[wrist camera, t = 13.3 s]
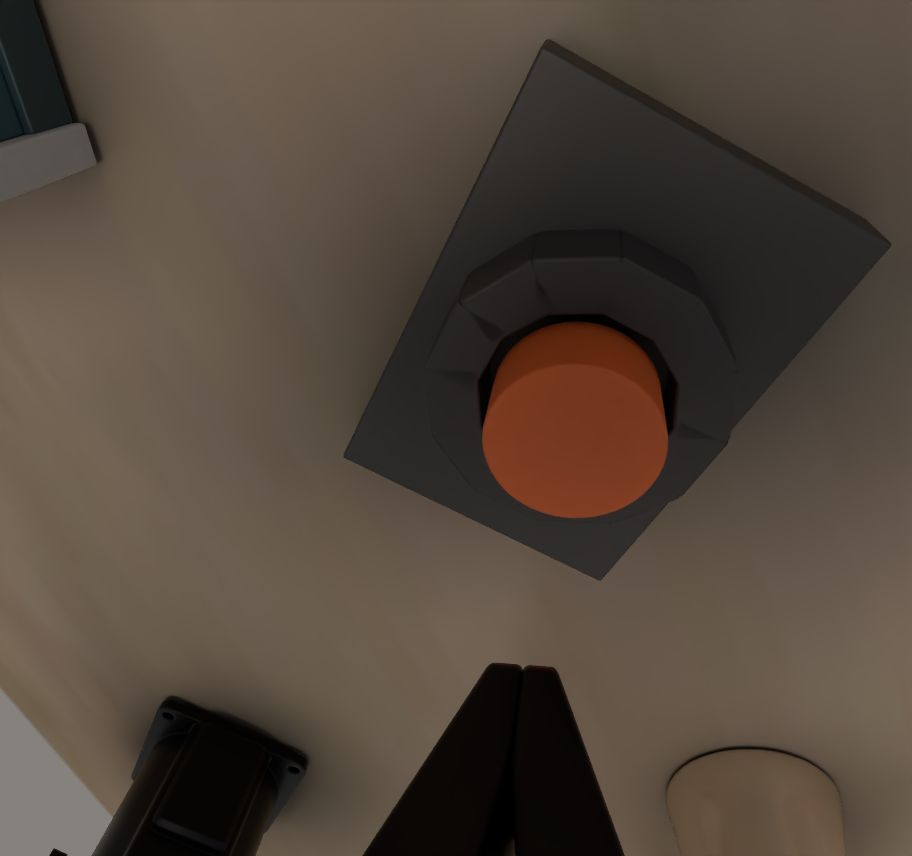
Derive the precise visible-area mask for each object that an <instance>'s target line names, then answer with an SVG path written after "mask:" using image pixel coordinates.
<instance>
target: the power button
mask: <svg viewBox="0 0 912 856" xmlns="http://www.w3.org/2000/svg"><path fill="white" fill-rule="evenodd" d="M482 445H483V452H484V456H485V459H486V462H487V464H488V466H489V469H490V471H491V473H492V474H493V476H494V477H495V479H496V480H497V482H498V483H499V484H500V485H501V486H502V488H503V489H504V490H505V491H507V492H508V493H509V494H510V495H511V496H512V497H514V498H515V499H516V500H518V501H519V502H521V503H523V504H524V505H526V506H528V507H530V508H532V509H534V510H537V511H539V512H542V513H546V514H549V515H553V516H558V517H566V518H588V517H596V516H600V515H605V514H608V513H611V512H614V511H617V510H619V509H621V508H623V507H626V506H627V505H629V504H631V503H632V502H634V501H635V500H637V499H638V498H639V497H640V496H642V495H643V494H644V493H645V492H646V491H647V490H648V489H649V488H650V487H651V486H652V484H653V483H654V482H655V480H656V479H657V477H658V476H659V474H660V472H661V470H662V468H663V466H664V463H665V460H666V457H667V451H668V432H667V426H666V419H665V412H664V406H663V399H662V393H661V386H660V380H659V377H658V373H657V370H656V368H655V366H654V364H653V362H652V360H651V359H650V358H649V356H648V355H647V353H646V352H645V351H644V350H643V349H642V348H641V347H640V346H639V345H638V344H637V343H636V342H635V341H634V340H632V339H631V338H630V337H628V336H626V335H625V334H623V333H622V332H620V331H617V330H615V329H613V328H611V327H608V326H604V325H601V324H597V323H591V322H581V321H572V322H562V323H557V324H552V325H549V326H546V327H543V328H541V329H538V330H536V331H534V332H532V333H530V334H529V335H527V336H526V337H524V338H523V339H521V340H520V341H519V342H518V343H516V344H515V345H514V346H513V347H512V348H511V350H510V351H509V352H508V353H507V354H506V356H505V357H504V359H503V360H502V362H501V364H500V366H499V368H498V370H497V374H496V377H495V380H494V384H493V388H492V392H491V396H490V400H489V404H488V408H487V412H486V416H485V420H484V425H483V431H482Z"/></svg>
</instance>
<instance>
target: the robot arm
mask: <svg viewBox="0 0 912 856" xmlns="http://www.w3.org/2000/svg"><path fill="white" fill-rule="evenodd" d="M307 766H308V761H307V760H306V759H305V757H303V756H301V755H299V754H297V753H294V752H292V751H290V750H287V749H285V748H283V747H280V746H278V745H276V744H273V743H271V742H269V741H266V740H264V739H262V738H260V737H257V736H255V735H253V734H250V733H248V732H246V731H243V730H241V729H239V728H236V727H234V726H232V725H229V724H227V723H225V722H222V721H220V720H218V719H216V718H213V717H211V716H209V715H206V714H204V713H202V712H199V711H197V710H195V709H192V708H190V707H188V706H185V705H183V704H181V703H178V702H176V701H173V700H165V701H163V702H162V704H161V705H160V707H159V709H158V710H157V712H156V715H155V717H154V720H153V722H152V725H151V728H150V730H149V733H148V735H147V738H146V740H145V743H144V745H143V748H142V750H141V753H140V755H139V758H138V760H137V763H136V765H135V768H134V770H133V773H132V776H131V778H132V780H133V781H134V782H133V784H132V786H131V787H130V789H129V791H128V793H127V794H126V796H125V798H124V800H123V801H122V803H121V805H120V807H119V808H118V810H117V812H116V814H115V815H114V817H113V819H112V821H111V823H110V824H109V826H108V828H107V830H106V831H105V833H104V835H103V837H102V838H101V840H100V842H99V844H98V845H97V847H96V849H95V851H94V852H93V854H92V856H255V855H256V853H257V850H258V847H259V845H260V842H261V840H262V837H263V834H264V833H265V832H267V830H268V829H269V827H270V826H271V824H272V823H273V821H274V820H275V818H276V817H277V815H278V814H279V812H280V811H281V809H282V808H283V806H284V805H285V803H286V802H287V800H288V799H289V797H290V796H291V794H292V793H293V791H294V790H295V788H296V787H297V785H298V784H299V782H300V781H301V779H302V778H303V776H304V775H305V772H306V769H307ZM50 856H67V854H65V853H63V852H61V851H59V850H57V849H53V851H52V852H51V854H50ZM363 856H625V855H624V852H623V850H622V847H621V844H620V841H619V839H618V836H617V833H616V830H615V828H614V825H613V822H612V819H611V817H610V814H609V811H608V808H607V806H606V803H605V800H604V797H603V795H602V792H601V789H600V786H599V784H598V781H597V778H596V775H595V773H594V770H593V767H592V764H591V762H590V759H589V756H588V753H587V751H586V748H585V745H584V742H583V740H582V737H581V734H580V731H579V729H578V726H577V723H576V720H575V718H574V715H573V712H572V709H571V707H570V704H569V701H568V698H567V696H566V693H565V690H564V687H563V685H562V682H561V679H560V676H559V674H558V672H557V670H556V669H555V668H553V667H546V666H533V665H528V666H526V667H524V669H522V667H521V666H519V665H517V664H505V663H492V664H490V665H489V666H488V667H487V668H486V669H485V671H484V672H483V674H482V675H481V677H480V678H479V680H478V681H477V683H476V684H475V686H474V687H473V689H472V690H471V692H470V693H469V695H468V697H467V698H466V700H465V701H464V703H463V704H462V706H461V707H460V709H459V710H458V712H457V713H456V715H455V716H454V718H453V719H452V721H451V722H450V724H449V725H448V727H447V728H446V730H445V731H444V733H443V734H442V736H441V737H440V739H439V740H438V742H437V743H436V745H435V747H434V748H433V750H432V751H431V753H430V754H429V756H428V757H427V759H426V760H425V762H424V763H423V765H422V766H421V768H420V769H419V771H418V772H417V774H416V775H415V777H414V778H413V780H412V781H411V783H410V784H409V786H408V787H407V789H406V790H405V792H404V794H403V795H402V797H401V798H400V800H399V801H398V803H397V804H396V806H395V807H394V809H393V810H392V812H391V813H390V815H389V816H388V818H387V819H386V821H385V822H384V824H383V825H382V827H381V828H380V830H379V831H378V833H377V834H376V836H375V837H374V839H373V841H372V842H371V844H370V845H369V847H368V848H367V850H366V851H365V853H364V854H363Z"/></svg>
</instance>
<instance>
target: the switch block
mask: <svg viewBox="0 0 912 856" xmlns="http://www.w3.org/2000/svg"><path fill="white" fill-rule="evenodd" d="M890 246H891V243H890V242H889V241H888V240H887V239H886V238H885V237H884V236H883V235H882V234H881V233H880V232H879V231H878V230H877V229H875V228H874V227H873V226H872V225H871V224H870V223H869V222H868V221H867V220H866V219H864V218H862V217H861V216H859V215H857V214H855V213H854V212H852V211H850V210H848V209H847V208H845V207H843V206H841V205H840V204H838V203H836V202H834V201H832V200H831V199H829V198H827V197H825V196H824V195H822V194H820V193H818V192H817V191H815V190H813V189H811V188H810V187H808V186H806V185H804V184H803V183H801V182H799V181H797V180H796V179H794V178H792V177H790V176H789V175H787V174H785V173H783V172H782V171H780V170H778V169H776V168H774V167H773V166H771V165H769V164H767V163H766V162H764V161H762V160H760V159H759V158H757V157H755V156H753V155H752V154H750V153H748V152H746V151H745V150H743V149H741V148H739V147H738V146H736V145H734V144H732V143H731V142H729V141H727V140H725V139H724V138H722V137H720V136H718V135H716V134H715V133H713V132H711V131H709V130H708V129H706V128H704V127H702V126H701V125H699V124H697V123H695V122H694V121H692V120H690V119H688V118H687V117H685V116H683V115H681V114H680V113H678V112H676V111H674V110H673V109H671V108H669V107H667V106H666V105H664V104H662V103H660V102H658V101H657V100H655V99H653V98H651V97H650V96H648V95H646V94H644V93H643V92H641V91H639V90H637V89H636V88H634V87H632V86H630V85H629V84H627V83H625V82H623V81H622V80H620V79H618V78H616V77H615V76H613V75H611V74H609V73H607V72H606V71H604V70H602V69H600V68H599V67H597V66H595V65H593V64H592V63H590V62H588V61H586V60H585V59H583V58H581V57H579V56H578V55H576V54H574V53H572V52H571V51H569V50H567V49H565V48H564V47H562V46H560V45H558V44H557V43H555V42H553V41H551V40H548V39H547V40H546V41H545V42H544V44H543V45H542V47H541V48H540V50H539V52H538V54H537V56H536V58H535V60H534V62H533V64H532V66H531V68H530V71H529V73H528V75H527V77H526V79H525V81H524V83H523V85H522V87H521V89H520V91H519V93H518V95H517V97H516V99H515V101H514V104H513V106H512V108H511V110H510V112H509V114H508V116H507V118H506V120H505V122H504V124H503V126H502V128H501V130H500V132H499V135H498V137H497V139H496V141H495V143H494V145H493V147H492V149H491V151H490V153H489V155H488V157H487V159H486V161H485V163H484V165H483V168H482V170H481V172H480V174H479V176H478V178H477V180H476V182H475V184H474V186H473V188H472V190H471V192H470V194H469V196H468V199H467V201H466V203H465V205H464V207H463V209H462V211H461V213H460V215H459V217H458V219H457V221H456V223H455V225H454V227H453V229H452V232H451V234H450V236H449V238H448V240H447V242H446V244H445V246H444V248H443V250H442V252H441V254H440V256H439V258H438V260H437V262H436V265H435V267H434V269H433V271H432V273H431V275H430V277H429V279H428V281H427V283H426V285H425V287H424V289H423V291H422V293H421V296H420V298H419V300H418V302H417V304H416V306H415V308H414V310H413V312H412V314H411V316H410V318H409V320H408V322H407V324H406V326H405V329H404V331H403V333H402V335H401V337H400V339H399V341H398V343H397V345H396V347H395V349H394V351H393V353H392V355H391V357H390V360H389V362H388V364H387V366H386V368H385V370H384V372H383V374H382V376H381V378H380V380H379V382H378V384H377V386H376V388H375V390H374V393H373V395H372V397H371V399H370V401H369V403H368V405H367V407H366V409H365V411H364V413H363V415H362V417H361V419H360V421H359V424H358V426H357V428H356V430H355V432H354V434H353V436H352V438H351V440H350V442H349V444H348V446H347V448H346V450H345V452H344V458H346V459H348V460H350V461H352V462H354V463H357V464H359V465H361V466H363V467H365V468H367V469H369V470H371V471H373V472H375V473H377V474H379V475H381V476H383V477H386V478H388V479H390V480H392V481H394V482H396V483H398V484H400V485H402V486H404V487H406V488H408V489H410V490H412V491H415V492H417V493H419V494H421V495H423V496H425V497H427V498H429V499H431V500H433V501H435V502H437V503H439V504H441V505H444V506H446V507H448V508H450V509H452V510H454V511H456V512H458V513H460V514H462V515H464V516H466V517H468V518H471V519H473V520H475V521H477V522H479V523H481V524H483V525H485V526H487V527H489V528H491V529H493V530H495V531H497V532H500V533H502V534H504V535H506V536H508V537H510V538H512V539H514V540H516V541H518V542H520V543H522V544H524V545H526V546H529V547H531V548H533V549H535V550H537V551H539V552H541V553H543V554H545V555H547V556H549V557H551V558H553V559H555V560H558V561H560V562H562V563H564V564H566V565H568V566H570V567H572V568H574V569H576V570H578V571H580V572H582V573H584V574H587V575H589V576H591V577H593V578H595V579H597V580H602V579H603V577H604V576H605V575H606V574H607V573H608V572H609V570H610V569H611V568H612V567H613V566H614V565H615V564H616V562H617V561H618V560H619V559H620V558H621V557H622V555H623V554H624V553H625V552H626V551H627V550H628V549H629V547H630V546H631V545H632V544H633V543H634V542H635V541H636V539H637V538H638V537H639V536H640V535H641V534H642V532H643V531H644V530H645V529H646V528H647V527H648V526H649V524H650V523H651V522H652V521H653V520H654V519H655V517H656V516H657V515H658V514H659V513H660V512H661V511H662V509H663V508H664V507H665V506H666V505H667V504H668V502H670V501H673V500H675V499H678V498H679V496H682V495H683V494H684V493H685V492H686V491H687V490H688V488H689V487H690V486H691V485H692V484H693V483H694V482H695V480H696V479H697V478H698V477H699V476H700V475H701V474H702V472H703V471H704V470H705V469H706V468H707V467H708V466H709V464H710V463H711V462H712V461H713V460H714V459H715V458H716V456H717V455H718V454H719V453H720V452H721V451H722V450H723V448H724V447H725V446H726V445H727V443H728V440H729V438H730V433H731V430H732V429H733V428H734V426H735V425H736V424H737V423H738V422H739V421H740V419H741V418H742V417H743V416H744V415H745V414H746V413H747V411H748V410H749V409H750V408H751V407H752V406H753V404H754V403H755V402H756V401H757V400H758V399H759V398H760V396H761V395H762V394H763V393H764V392H765V391H766V390H767V388H768V387H769V386H770V385H771V384H772V383H773V381H774V380H775V379H776V378H777V377H778V376H779V375H780V373H781V372H782V371H783V370H784V369H785V368H786V366H787V365H788V364H789V363H790V362H791V361H792V360H793V358H794V357H795V356H796V355H797V354H798V353H799V351H800V350H801V349H802V348H803V347H804V346H805V345H806V343H807V342H808V341H809V340H810V339H811V338H812V336H813V335H814V334H815V333H816V332H817V331H818V330H819V328H820V327H821V326H822V325H823V324H824V323H825V322H826V320H827V319H828V318H829V317H830V316H831V315H832V313H833V312H834V311H835V310H836V309H837V308H838V307H839V305H840V304H841V303H842V302H843V301H844V300H845V298H846V297H847V296H848V295H849V294H850V293H851V292H852V290H853V289H854V288H855V287H856V286H857V285H858V283H859V282H860V281H861V280H862V279H863V278H864V277H865V275H866V274H867V273H868V272H869V271H870V270H871V268H872V267H873V266H874V265H875V264H876V263H877V262H878V260H879V259H880V258H881V257H882V256H883V255H884V253H885V252H886V251H887V250H888V249H889V248H890ZM572 321H581V322H591V323H597V324H601V325H604V326H608V327H611V328H613V329H615V330H617V331H620V332H622V333H623V334H625V335H626V336H628V337H630V338H631V339H632V340H634V341H635V342H636V343H637V344H638V345H639V346H640V347H641V348H642V349H643V350H644V351H645V352H646V353H647V355H648V356H649V358H650V359H651V360H652V362H653V364H654V366H655V368H656V370H657V373H658V377H659V380H660V386H661V393H662V399H663V406H664V412H665V419H666V426H667V432H668V451H667V457H666V460H665V463H664V466H663V468H662V470H661V472H660V474H659V476H658V477H657V479H656V480H655V482H654V483H653V484H652V486H651V487H650V488H649V489H648V490H647V491H646V492H645V493H644V494H643V495H642V496H640V497H639V498H638V499H637V500H635V501H634V502H632V503H631V504H629V505H627V506H626V507H623V508H621V509H619V510H617V511H614V512H611V513H608V514H605V515H600V516H596V517H588V518H566V517H558V516H553V515H549V514H546V513H542V512H539V511H537V510H534V509H532V508H530V507H528V506H526V505H524V504H523V503H521V502H519V501H518V500H516V499H515V498H514V497H512V496H511V495H510V494H509V493H508V492H507V491H505V490H504V489H503V488H502V486H501V485H500V484H499V483H498V482H497V480H496V479H495V477H494V476H493V474H492V473H491V471H490V469H489V466H488V464H487V462H486V459H485V456H484V452H483V445H482V431H483V425H484V420H485V416H486V412H487V408H488V404H489V400H490V396H491V392H492V388H493V384H494V380H495V377H496V374H497V370H498V368H499V366H500V364H501V362H502V360H503V359H504V357H505V356H506V354H507V353H508V352H509V351H510V350H511V348H512V347H513V346H514V345H515V344H516V343H518V342H519V341H520V340H521V339H523V338H524V337H526V336H527V335H529V334H530V333H532V332H534V331H536V330H538V329H541V328H543V327H546V326H549V325H552V324H557V323H562V322H572Z"/></svg>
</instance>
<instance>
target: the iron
mask: <svg viewBox="0 0 912 856" xmlns="http://www.w3.org/2000/svg"><path fill="white" fill-rule="evenodd" d="M96 164H97V162H96V159H95V156H94V152H93V149H92V146H91V143H90V140H89V137H88V134H87V131H86V127H85V125H84V124H82V123H72V118H71V115H70V112H69V108H68V105H67V102H66V99H65V96H64V93H63V90H62V87H61V84H60V81H59V78H58V75H57V72H56V69H55V66H54V63H53V60H52V57H51V53H50V50H49V47H48V44H47V41H46V38H45V35H44V32H43V29H42V26H41V23H40V20H39V17H38V14H37V11H36V8H35V5H34V2H33V0H0V203H3V202H5V201H8V200H10V199H13V198H15V197H18V196H20V195H23V194H25V193H28V192H31V191H33V190H36V189H38V188H41V187H43V186H46V185H48V184H51V183H53V182H56V181H58V180H61V179H63V178H66V177H68V176H71V175H73V174H76V173H79V172H81V171H84V170H86V169H89V168H91V167H94V166H95V165H96Z"/></svg>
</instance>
